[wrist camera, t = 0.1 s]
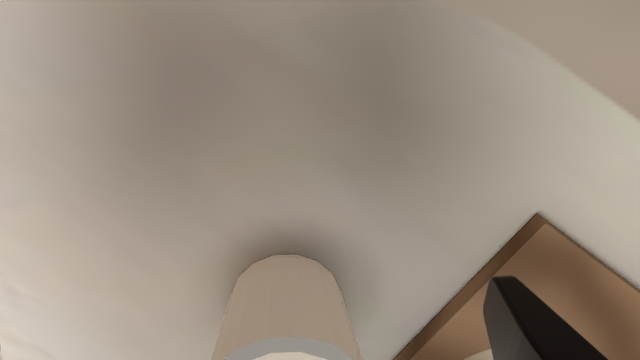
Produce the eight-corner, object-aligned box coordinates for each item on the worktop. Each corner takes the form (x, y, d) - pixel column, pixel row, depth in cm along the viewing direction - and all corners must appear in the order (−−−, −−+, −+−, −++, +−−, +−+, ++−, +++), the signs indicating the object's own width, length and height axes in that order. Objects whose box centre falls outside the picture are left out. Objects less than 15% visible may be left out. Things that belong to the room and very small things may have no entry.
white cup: (366, 252, 28) (391, 349, 21) (338, 360, 30) (352, 475, 24) (227, 233, 27) (210, 327, 20) (210, 346, 29) (191, 461, 23)
